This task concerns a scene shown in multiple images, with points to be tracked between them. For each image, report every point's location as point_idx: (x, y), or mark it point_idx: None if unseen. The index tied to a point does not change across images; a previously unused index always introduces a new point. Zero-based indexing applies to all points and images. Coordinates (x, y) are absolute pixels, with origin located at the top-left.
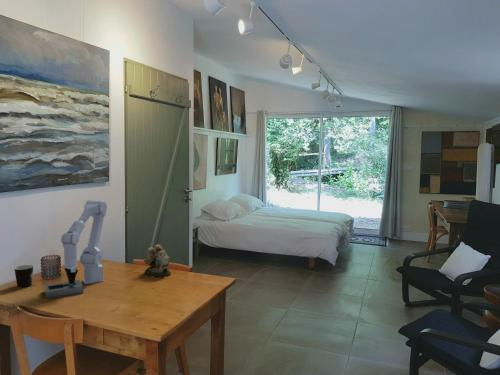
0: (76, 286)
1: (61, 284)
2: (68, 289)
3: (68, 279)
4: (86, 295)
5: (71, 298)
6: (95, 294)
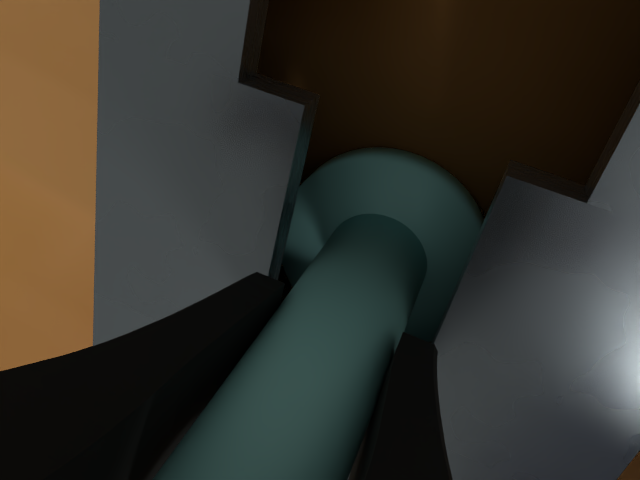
0: (143, 297)
1: (590, 194)
2: (109, 120)
3: (295, 354)
4: (47, 259)
5: (23, 50)
6: (31, 339)
